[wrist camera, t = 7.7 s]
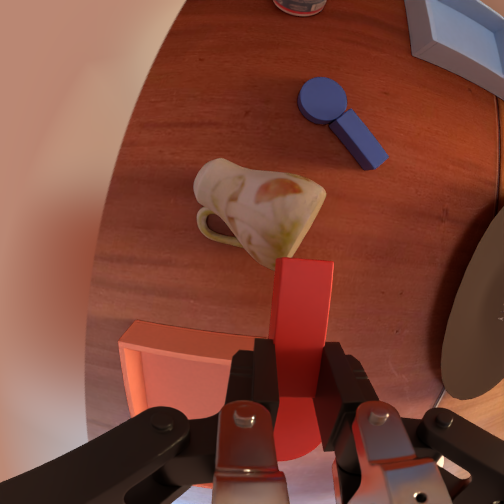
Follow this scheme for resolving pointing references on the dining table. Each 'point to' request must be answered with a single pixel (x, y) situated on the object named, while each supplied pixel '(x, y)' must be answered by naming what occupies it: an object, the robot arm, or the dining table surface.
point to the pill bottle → (300, 6)
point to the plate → (477, 321)
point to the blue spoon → (340, 120)
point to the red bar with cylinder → (299, 349)
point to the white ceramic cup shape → (257, 208)
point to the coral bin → (178, 368)
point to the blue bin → (459, 39)
